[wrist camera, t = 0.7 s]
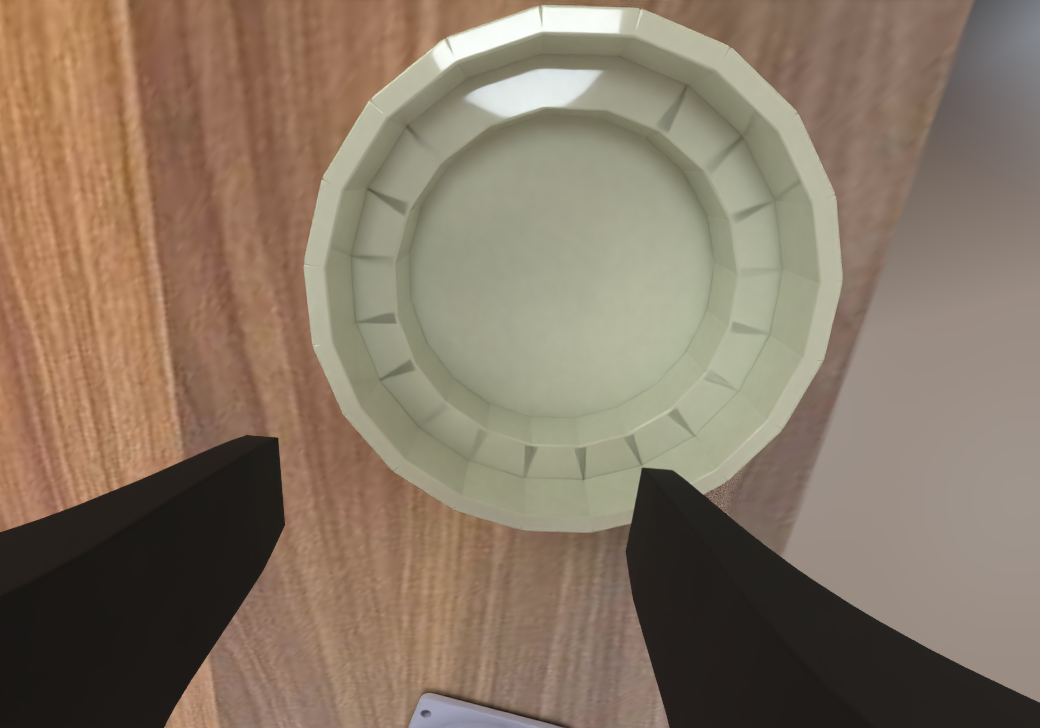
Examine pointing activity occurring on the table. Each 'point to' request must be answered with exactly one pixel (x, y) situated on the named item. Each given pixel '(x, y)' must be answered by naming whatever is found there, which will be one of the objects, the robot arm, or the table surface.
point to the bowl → (572, 266)
